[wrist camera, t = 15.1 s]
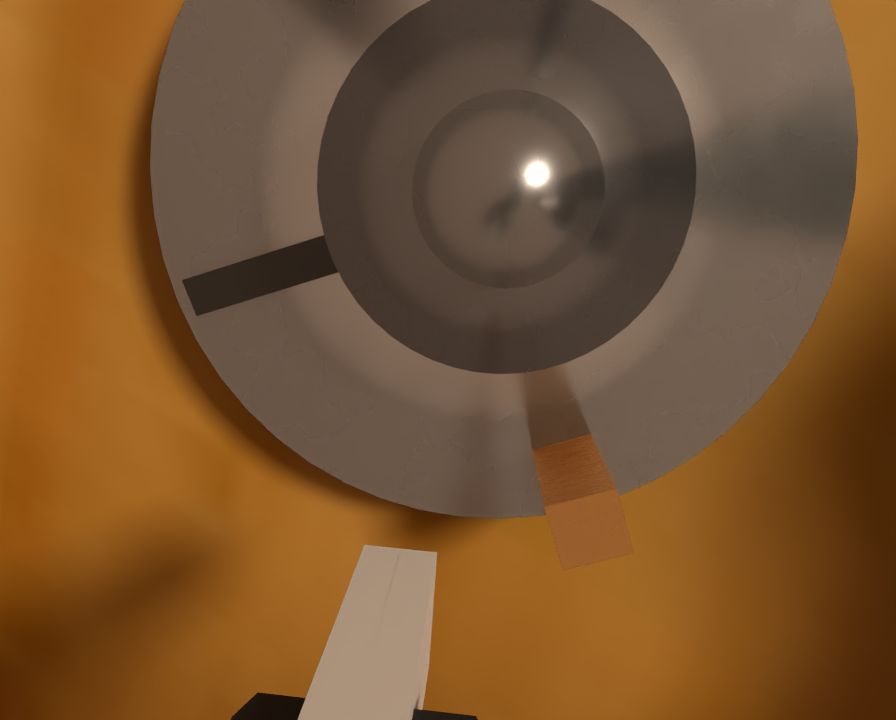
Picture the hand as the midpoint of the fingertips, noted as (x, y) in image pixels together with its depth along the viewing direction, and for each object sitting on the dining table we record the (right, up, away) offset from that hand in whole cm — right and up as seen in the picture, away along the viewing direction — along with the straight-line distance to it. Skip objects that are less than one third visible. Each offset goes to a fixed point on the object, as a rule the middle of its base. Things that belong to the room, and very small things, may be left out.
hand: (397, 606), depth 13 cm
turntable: (+3, +10, +8) cm, 14 cm away
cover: (+3, +10, +6) cm, 12 cm away
